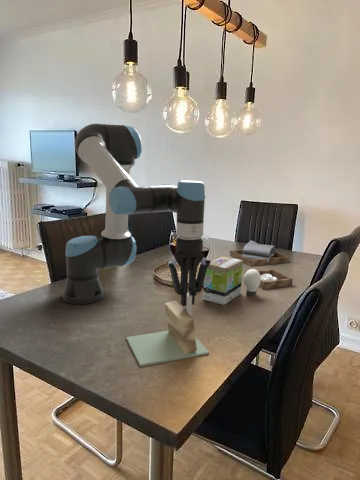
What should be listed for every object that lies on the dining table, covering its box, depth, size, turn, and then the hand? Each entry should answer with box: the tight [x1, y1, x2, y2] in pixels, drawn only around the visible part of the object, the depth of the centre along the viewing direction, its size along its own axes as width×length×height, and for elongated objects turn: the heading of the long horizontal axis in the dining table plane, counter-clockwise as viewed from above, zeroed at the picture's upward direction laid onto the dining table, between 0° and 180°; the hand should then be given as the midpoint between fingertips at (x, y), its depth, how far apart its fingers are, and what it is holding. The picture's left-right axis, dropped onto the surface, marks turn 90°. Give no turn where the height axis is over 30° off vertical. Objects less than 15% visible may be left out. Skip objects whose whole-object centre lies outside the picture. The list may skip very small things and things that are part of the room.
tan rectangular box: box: [164, 299, 197, 354], centre depth 110 cm, size 4×14×10 cm, turn 21°
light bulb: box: [243, 268, 261, 298], centre depth 150 cm, size 7×7×11 cm
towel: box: [242, 239, 276, 262], centre depth 204 cm, size 15×18×8 cm
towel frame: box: [229, 249, 290, 267], centre depth 204 cm, size 24×21×3 cm
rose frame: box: [244, 268, 293, 290], centre depth 167 cm, size 15×15×3 cm
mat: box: [125, 330, 210, 367], centre depth 109 cm, size 20×16×1 cm
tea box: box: [202, 255, 244, 306], centre depth 147 cm, size 15×10×15 cm
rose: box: [261, 274, 278, 281], centre depth 165 cm, size 10×4×10 cm
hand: (187, 315), depth 110 cm, fingers closed
